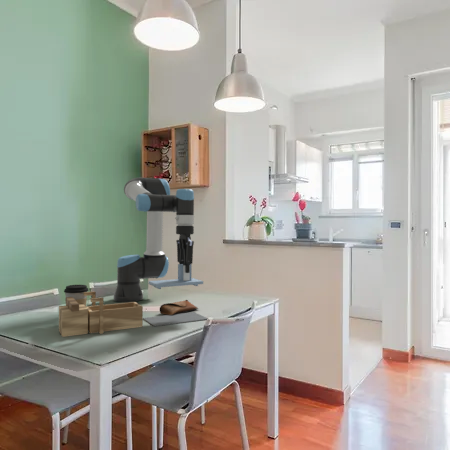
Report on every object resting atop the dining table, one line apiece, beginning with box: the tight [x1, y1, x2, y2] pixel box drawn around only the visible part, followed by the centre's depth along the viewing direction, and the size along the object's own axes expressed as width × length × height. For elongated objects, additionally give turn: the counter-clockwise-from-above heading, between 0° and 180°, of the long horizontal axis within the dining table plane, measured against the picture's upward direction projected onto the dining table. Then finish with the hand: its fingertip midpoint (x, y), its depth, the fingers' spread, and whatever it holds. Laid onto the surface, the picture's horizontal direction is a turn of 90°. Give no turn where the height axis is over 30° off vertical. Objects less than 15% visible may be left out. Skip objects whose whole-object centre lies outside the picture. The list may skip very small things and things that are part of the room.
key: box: [65, 297, 79, 312], centre depth 147 cm, size 16×2×2 cm, turn 29°
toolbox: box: [58, 291, 144, 338], centre depth 153 cm, size 15×30×13 cm, turn 119°
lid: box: [148, 263, 204, 290], centre depth 168 cm, size 11×21×9 cm, turn 119°
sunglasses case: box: [159, 299, 199, 315], centre depth 182 cm, size 18×7×7 cm
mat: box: [143, 311, 208, 327], centre depth 168 cm, size 14×24×1 cm, turn 119°
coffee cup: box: [63, 284, 90, 306], centre depth 160 cm, size 9×9×15 cm
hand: (184, 279), depth 169 cm, fingers closed on lid, 3 cm apart
